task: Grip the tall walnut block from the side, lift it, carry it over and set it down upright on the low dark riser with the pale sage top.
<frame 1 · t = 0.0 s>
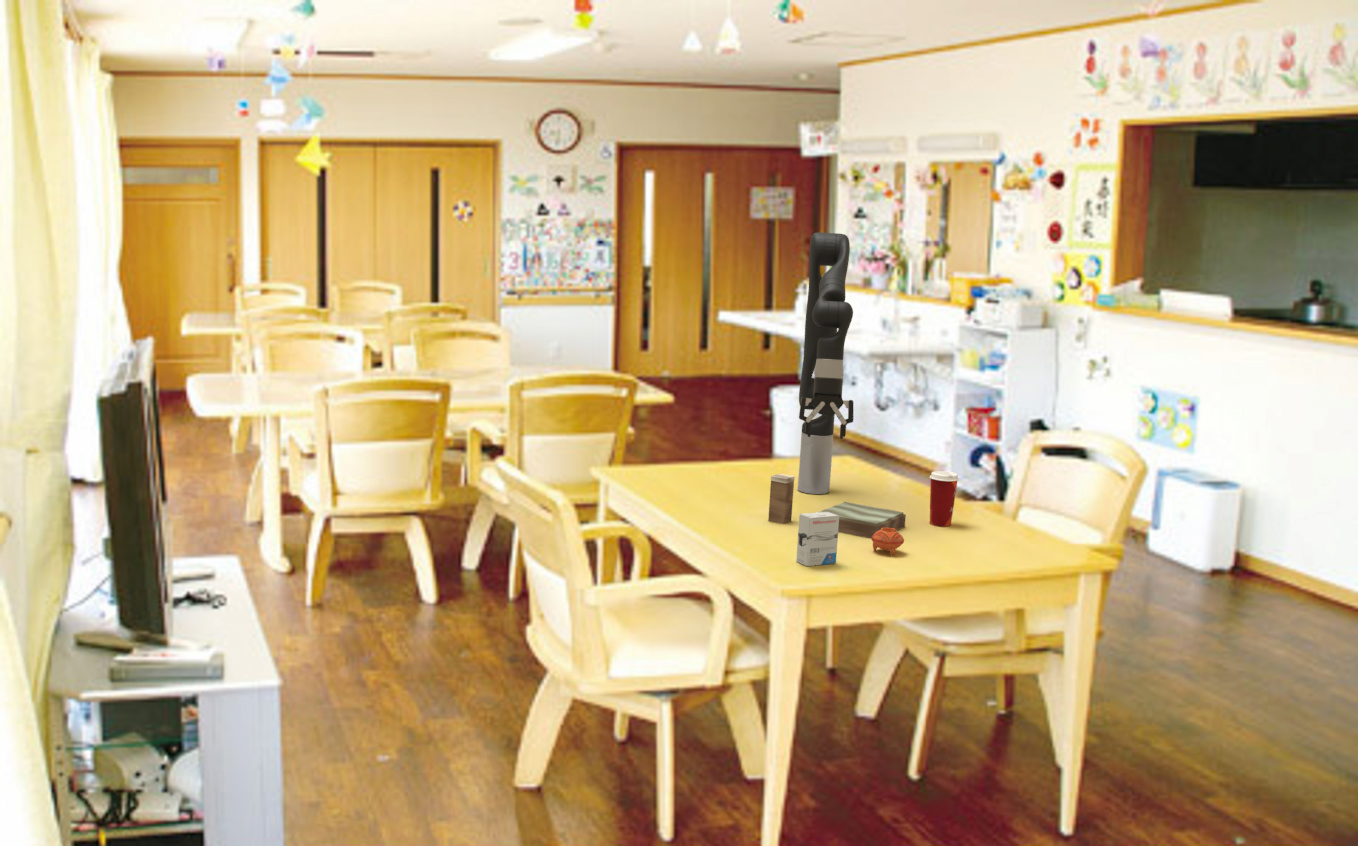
hand: (824, 437, 368), 22 cm above the table, tool pointing down, fingers open, 8 cm apart
paper cup: (939, 524, 375), on the table
block: (779, 520, 369), on the table
ink box: (815, 563, 329), on the table
riser: (859, 527, 366), on the table
pot: (886, 553, 342), on the table
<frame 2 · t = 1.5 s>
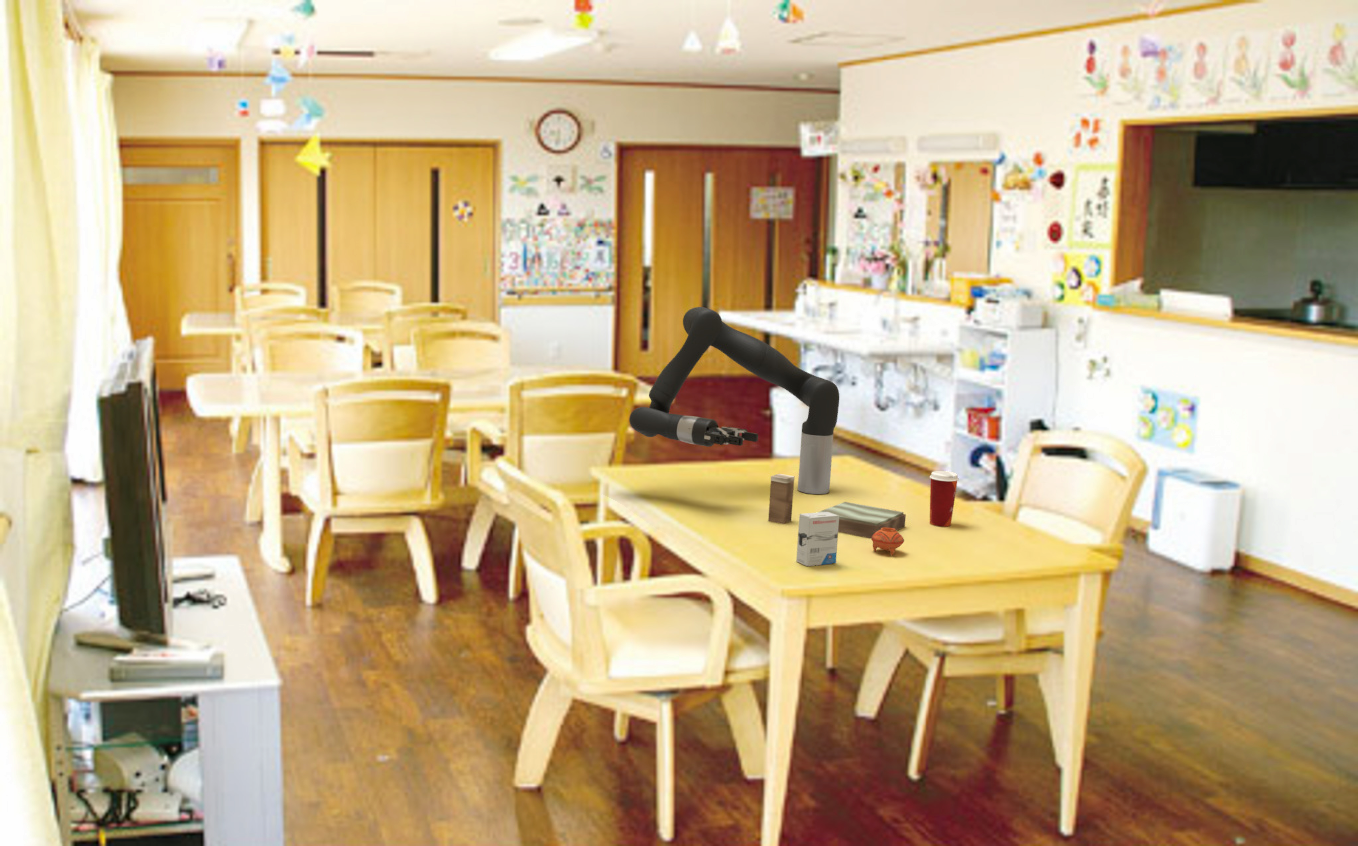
hand: (750, 439, 371), 20 cm above the table, tool horizontal, fingers open, 8 cm apart
nothing on the table moved.
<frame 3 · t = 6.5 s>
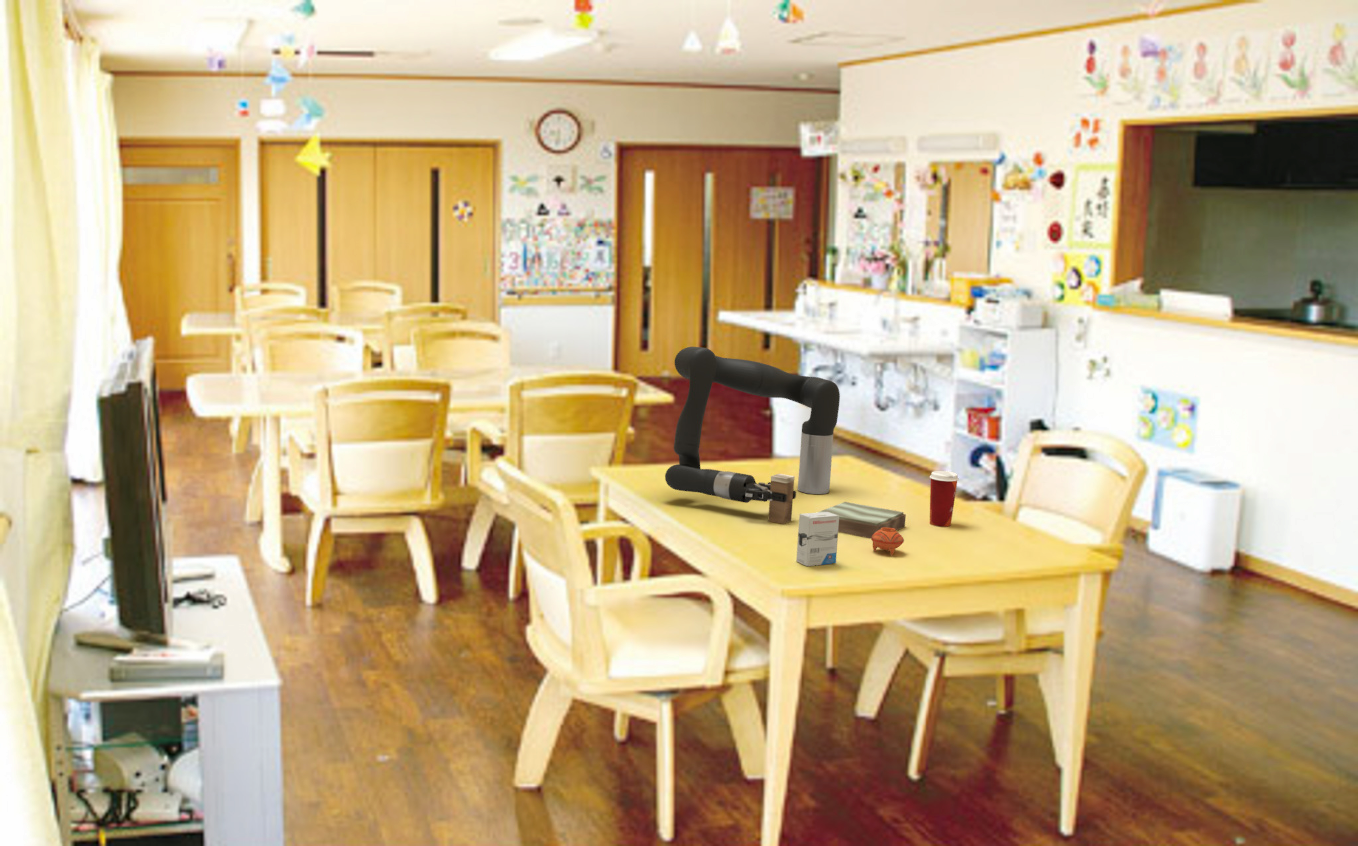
hand: (790, 496, 366), 7 cm above the table, tool horizontal, fingers closed on block, 4 cm apart
block: (779, 520, 369), on the table, touching gripper
everything else where it was.
when the fingers open (12 cm above the table, at t = 11.1 s): block drops 1 cm, resting on riser.
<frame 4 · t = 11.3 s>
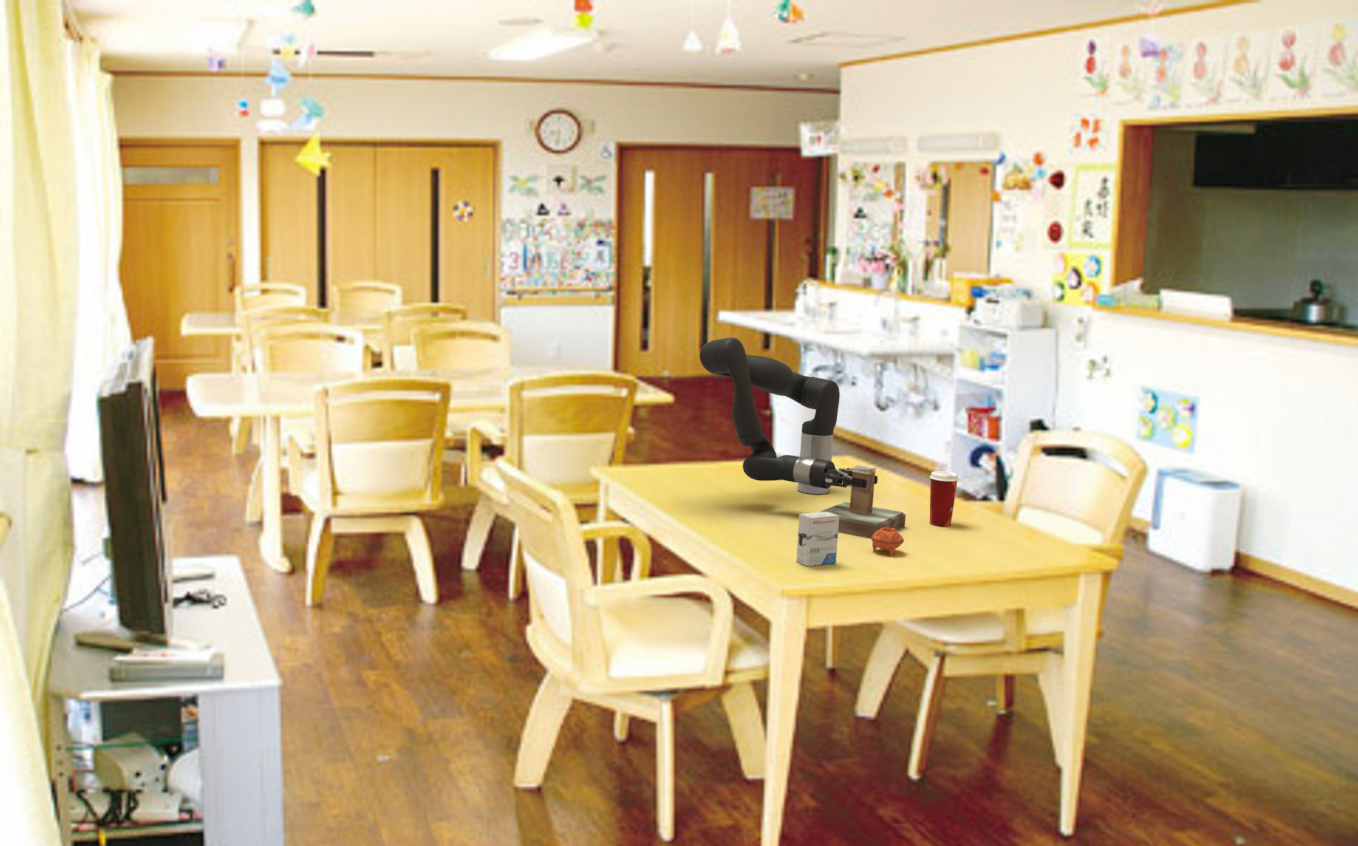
hand: (871, 482, 363), 12 cm above the table, tool horizontal, fingers open, 6 cm apart
block: (860, 512, 366), point 4 cm above the table, touching riser
everything else where it was.
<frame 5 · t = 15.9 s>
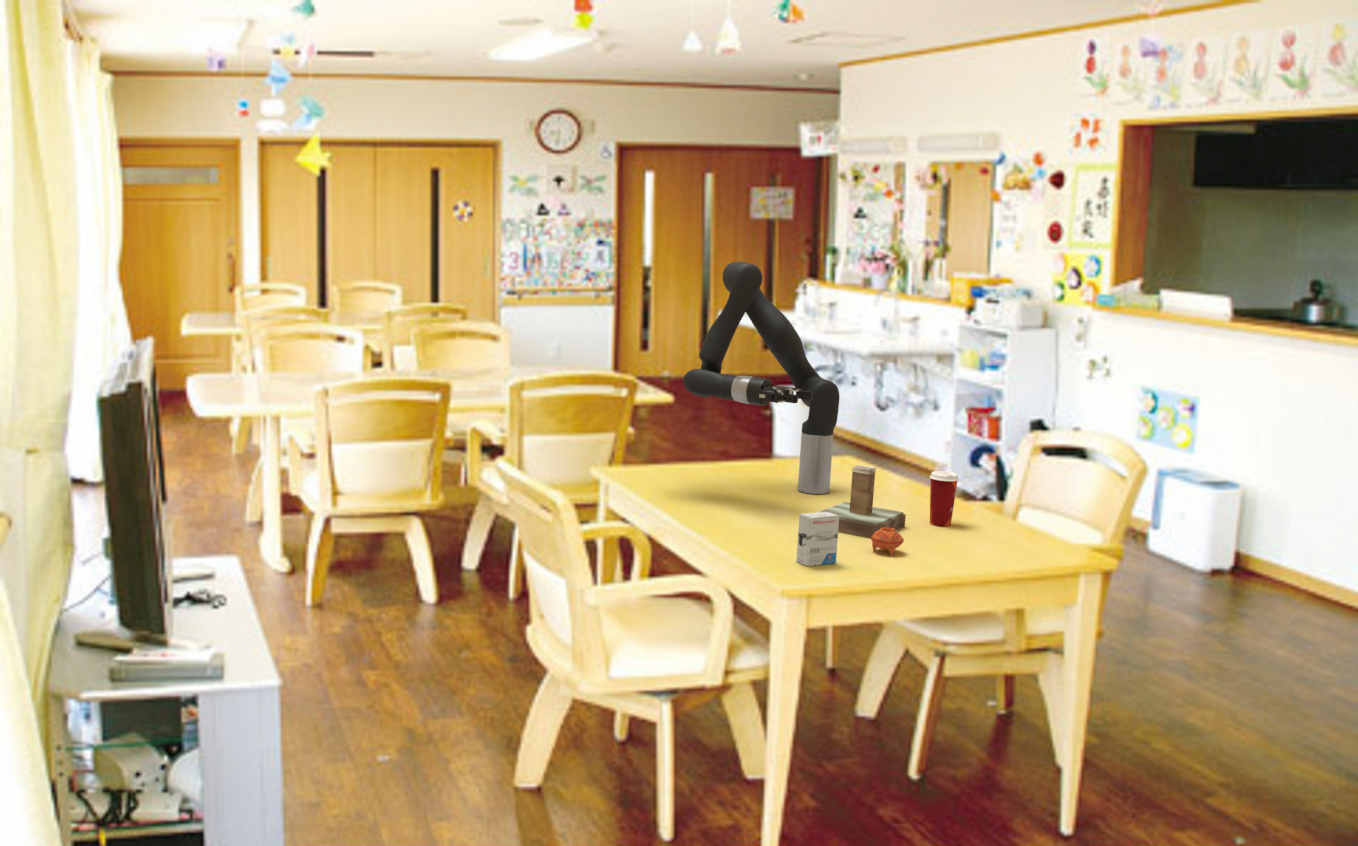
hand: (804, 397, 372), 32 cm above the table, tool horizontal, fingers open, 8 cm apart
nothing on the table moved.
at the end: block inside the target area on the riser (0.0 cm from its centre), point 4.0 cm above the riser's base; block tilted 0°; the gripper is holding nothing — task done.
